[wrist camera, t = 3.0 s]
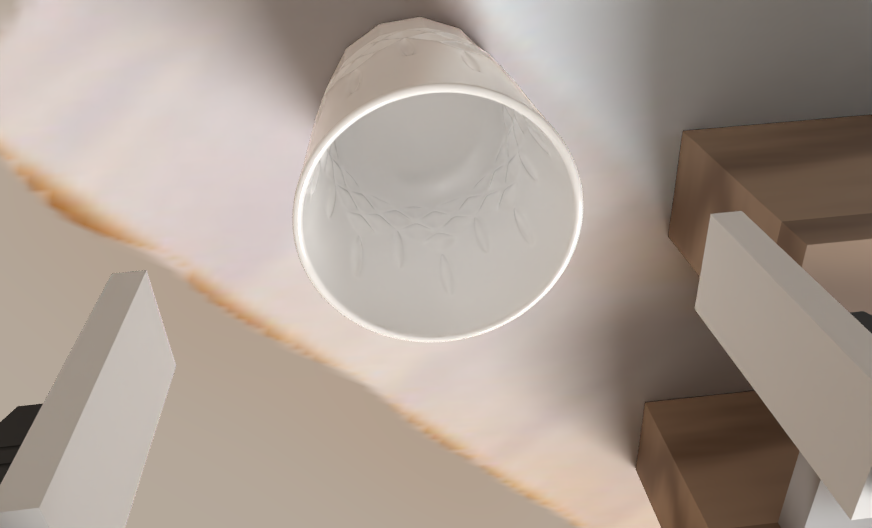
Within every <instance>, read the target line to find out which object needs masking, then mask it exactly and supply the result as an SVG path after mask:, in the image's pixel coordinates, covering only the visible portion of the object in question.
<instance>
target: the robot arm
mask: <svg viewBox="0 0 872 528" xmlns="http://www.w3.org/2000/svg"><path fill="white" fill-rule="evenodd" d="M695 310H696V312H697V313H698V314H699V316H700V317H701V318H702V320H703V321H704V322H705V324H706V325H707V327H708V328H709V329H710V331H711V332H712V333H713V335H714V336H715V337H716V339H717V340H718V341H719V343H720V344H721V345H722V347H723V348H724V349H725V351H726V352H727V354H728V355H729V356H730V358H731V359H732V360H733V362H734V363H735V364H736V366H737V367H738V368H739V370H740V371H741V372H742V374H743V375H744V376H745V378H746V379H747V381H748V382H749V383H750V385H751V386H752V387H753V389H754V390H755V391H756V393H757V394H758V395H759V397H760V398H761V399H762V401H763V402H764V404H765V405H766V406H767V408H768V409H769V410H770V412H771V413H772V414H773V416H774V417H775V418H776V420H777V421H778V422H779V424H780V425H781V426H782V428H783V429H784V431H785V432H786V433H787V435H788V436H789V437H790V439H791V440H792V441H793V443H794V444H795V445H796V447H797V448H798V449H799V451H800V452H801V453H802V455H803V456H804V458H805V459H806V460H807V462H808V463H809V464H810V466H811V467H812V468H813V470H814V471H815V472H816V474H817V475H818V476H819V478H820V479H821V481H822V482H823V483H824V485H825V486H826V487H827V489H828V490H829V491H830V493H831V494H832V495H833V497H834V498H835V499H836V501H837V502H838V503H839V505H840V506H841V508H842V509H843V510H844V512H845V513H846V514H847V516H848V517H849V518H850V520H857V519H865V518H872V315H870V314H868V313H867V312H865V311H859V312H850V313H849V312H848V311H847V310H846V309H845V308H844V307H843V306H842V305H841V304H840V303H839V302H838V301H837V300H836V299H835V298H833V297H832V296H831V295H830V294H829V293H828V292H827V291H826V290H825V289H824V288H823V287H822V286H821V285H820V284H819V283H818V282H817V281H815V280H814V279H813V278H812V277H811V276H810V275H809V274H808V273H807V272H806V271H805V270H804V269H803V268H802V267H801V266H800V265H799V264H797V263H796V262H795V261H794V260H793V259H792V258H791V257H790V256H789V255H788V254H787V253H786V252H785V251H784V250H783V249H782V248H781V247H779V246H778V245H777V244H776V243H775V242H774V241H773V240H772V239H771V238H770V237H769V236H768V235H767V234H766V233H765V232H764V231H763V230H761V229H760V228H759V227H758V226H757V225H756V224H755V223H754V222H753V221H752V220H751V219H750V218H749V217H748V216H747V215H746V214H745V213H743V212H742V211H735V212H725V213H715V214H711V215H710V221H709V227H708V233H707V239H706V244H705V250H704V256H703V262H702V268H701V274H700V280H699V286H698V292H697V298H696V304H695ZM175 368H176V363H175V360H174V357H173V354H172V350H171V347H170V344H169V341H168V338H167V334H166V331H165V328H164V325H163V321H162V318H161V315H160V312H159V308H158V305H157V302H156V299H155V295H154V293H153V289H152V286H151V283H150V279H149V276H148V273H147V270H142V271H132V272H122V273H112V274H111V276H110V278H109V280H108V282H107V283H106V285H105V287H104V289H103V291H102V293H101V295H100V297H99V299H98V301H97V302H96V304H95V306H94V308H93V310H92V312H91V314H90V316H89V318H88V320H87V321H86V323H85V325H84V327H83V329H82V331H81V333H80V335H79V337H78V338H77V340H76V342H75V344H74V346H73V348H72V350H71V352H70V354H69V355H68V357H67V359H66V361H65V363H64V365H63V367H62V369H61V371H60V373H59V375H58V376H57V378H56V380H55V382H54V384H53V386H52V388H51V390H50V391H49V393H48V396H47V397H46V399H45V401H44V403H43V404H36V405H27V406H18V407H17V408H16V409H14V410H13V411H12V412H11V413H10V414H9V415H8V416H7V417H6V418H5V419H3V420H2V421H1V422H0V528H125V526H126V523H127V520H128V517H129V514H130V510H131V507H132V504H133V501H134V498H135V494H136V491H137V488H138V485H139V482H140V478H141V475H142V472H143V469H144V466H145V463H146V459H147V456H148V453H149V450H150V447H151V444H152V440H153V437H154V434H155V431H156V428H157V425H158V421H159V418H160V415H161V411H162V409H163V405H164V402H165V399H166V396H167V393H168V390H169V386H170V383H171V380H172V377H173V374H174V371H175Z"/></svg>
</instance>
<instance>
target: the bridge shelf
mask: <svg viewBox="0 0 872 528" xmlns="http://www.w3.org/2000/svg"><path fill="white" fill-rule="evenodd" d="M735 211H742V212H743V213H745V214H746V215H747V216H748V217H749V218H750V219H751V220H752V221H753V222H754V223H755V224H756V225H757V226H758V227H759V228H760V229H761V230H763V231H764V232H765V233H766V234H767V235H768V236H769V237H770V238H771V239H772V240H773V241H774V242H775V243H776V244H777V245H778V246H779V247H781V248H782V249H783V250H784V251H785V252H786V253H787V254H788V255H789V256H790V257H791V258H792V259H793V260H794V261H795V262H796V263H797V264H799V265H800V266H801V267H802V268H803V269H804V270H805V271H806V272H807V273H808V274H809V275H810V276H811V277H812V278H813V279H814V280H815V281H817V282H818V283H819V284H820V285H821V286H822V287H823V288H824V289H825V290H826V291H827V292H828V293H829V294H830V295H831V296H832V297H833V298H835V299H836V300H837V301H838V302H839V303H840V304H841V305H842V306H843V307H844V308H845V309H846V310H847V311H848V312H849V313H850V312H859V311H865V312H867V313H868V314H870V315H872V115H862V116H851V117H839V118H827V119H816V120H804V121H792V122H781V123H769V124H757V125H746V126H734V127H722V128H710V129H699V130H687V131H683V133H682V140H681V148H680V155H679V162H678V169H677V176H676V183H675V191H674V198H673V205H672V212H671V219H670V227H669V234H668V237H669V238H670V239H671V241H672V242H673V243H674V245H675V246H676V247H677V248H678V250H679V251H680V252H681V254H682V255H683V256H684V257H685V259H686V260H687V261H688V263H689V264H690V265H691V267H692V268H693V269H694V270H695V272H696V273H697V274H698V276H699V277H700V274H701V268H702V262H703V256H704V250H705V244H706V239H707V233H708V227H709V221H710V215H711V214H715V213H725V212H735ZM636 471H637V473H638V476H639V478H640V480H641V482H642V485H643V487H644V489H645V491H646V494H647V496H648V498H649V501H650V503H651V505H652V507H653V510H654V512H655V514H656V516H657V519H658V521H659V523H660V526H661V528H872V518H865V519H857V520H850V518H849V517H848V516H847V514H846V513H845V512H844V510H843V509H842V508H841V506H840V505H839V503H838V502H837V501H836V499H835V498H834V497H833V495H832V494H831V493H830V491H829V490H828V489H827V487H826V486H825V485H824V483H823V482H822V481H821V479H820V478H819V476H818V475H817V474H816V472H815V471H814V470H813V468H812V467H811V466H810V464H809V463H808V462H807V460H806V459H805V458H804V456H803V455H802V453H801V452H800V451H799V449H798V448H797V447H796V445H795V444H794V443H793V441H792V440H791V439H790V437H789V436H788V435H787V433H786V432H785V431H784V429H783V428H782V426H781V425H780V424H779V422H778V421H777V420H776V418H775V417H774V416H773V414H772V413H771V412H770V410H769V409H768V408H767V406H766V405H765V404H764V402H763V401H762V399H761V398H760V397H759V395H758V394H757V393H756V391H748V392H739V393H730V394H720V395H711V396H702V397H692V398H683V399H674V400H664V401H655V402H646V403H645V407H644V414H643V421H642V428H641V435H640V442H639V450H638V457H637V464H636Z"/></svg>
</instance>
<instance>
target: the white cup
mask: <svg viewBox="0 0 872 528" xmlns="http://www.w3.org/2000/svg"><path fill="white" fill-rule="evenodd" d="M582 220H583V192H582V185H581V180H580V176H579V172H578V169H577V166H576V164H575V161H574V159H573V157H572V155H571V153H570V151H569V149H568V147H567V146H566V144H565V142H564V141H563V139H562V138H561V137H560V135H559V134H558V133H557V131H556V130H555V129H554V128H553V127H552V126H551V124H550V123H549V122H548V121H547V120H546V119H545V117H544V116H543V115H542V114H541V113H540V111H539V110H538V109H537V108H536V107H535V105H534V104H533V103H532V102H531V101H530V99H529V98H528V97H527V96H526V94H525V93H524V92H523V91H522V90H521V88H520V87H519V86H518V85H517V83H516V82H515V81H514V80H513V79H512V78H511V76H510V75H509V74H508V73H507V72H506V71H505V70H504V69H503V68H502V66H501V65H499V64H498V63H497V62H496V61H495V60H494V59H493V58H492V57H491V56H490V55H489V54H488V53H487V52H485V51H484V50H482V49H481V48H480V47H479V46H477V45H476V44H475V43H474V42H473V41H472V40H471V39H470V38H469V37H468V36H467V35H466V34H465V33H464V32H463V31H462V30H461V29H459V28H456V27H453V26H450V25H446V24H443V23H440V22H436V21H433V20H430V19H426V18H423V17H416V18H410V19H405V20H399V21H393V22H387V23H382V24H379V25H377V26H376V27H375V28H373V29H372V30H371V31H369V32H368V33H367V34H365V35H364V36H362V37H361V38H360V39H358V40H357V41H356V42H354V43H353V44H352V45H350V46H349V47H348V48H346V50H345V52H344V54H343V56H342V58H341V60H340V62H339V64H338V66H337V68H336V70H335V72H334V74H333V76H332V78H331V80H330V82H329V84H328V86H327V89H326V91H325V93H324V96H323V99H322V102H321V105H320V107H319V110H318V113H317V116H316V119H315V122H314V125H313V129H312V133H311V137H310V140H309V144H308V148H307V152H306V156H305V160H304V164H303V167H302V171H301V174H300V178H299V182H298V185H297V189H296V193H295V198H294V204H293V234H294V241H295V245H296V249H297V253H298V256H299V259H300V261H301V264H302V266H303V268H304V270H305V272H306V274H307V276H308V278H309V279H310V281H311V283H312V284H313V285H314V287H315V288H316V290H317V291H318V292H319V293H320V295H321V296H322V297H323V298H324V299H325V300H326V301H327V302H328V303H329V304H330V305H331V306H332V307H333V308H335V309H336V310H337V311H338V312H339V313H341V314H342V315H343V316H345V317H346V318H348V319H349V320H351V321H353V322H354V323H356V324H358V325H360V326H362V327H364V328H366V329H368V330H370V331H373V332H375V333H378V334H381V335H384V336H388V337H391V338H396V339H400V340H406V341H414V342H446V341H454V340H460V339H465V338H470V337H473V336H477V335H480V334H483V333H486V332H489V331H491V330H494V329H496V328H498V327H501V326H503V325H505V324H507V323H508V322H510V321H512V320H514V319H515V318H517V317H519V316H520V315H522V314H523V313H525V312H526V311H527V310H529V309H530V308H531V307H532V306H534V305H535V304H536V303H537V302H538V301H539V300H540V299H542V298H543V297H544V296H545V295H546V294H547V292H548V291H549V290H550V289H551V288H552V287H553V286H554V284H555V283H556V282H557V281H558V279H559V278H560V276H561V275H562V273H563V272H564V270H565V269H566V267H567V265H568V263H569V261H570V260H571V257H572V255H573V253H574V251H575V248H576V245H577V242H578V239H579V235H580V231H581V226H582Z"/></svg>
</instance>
